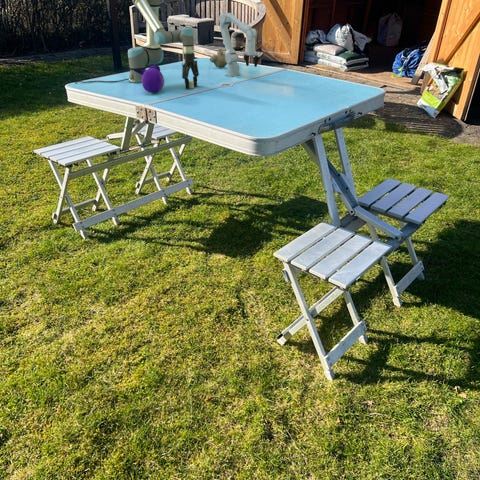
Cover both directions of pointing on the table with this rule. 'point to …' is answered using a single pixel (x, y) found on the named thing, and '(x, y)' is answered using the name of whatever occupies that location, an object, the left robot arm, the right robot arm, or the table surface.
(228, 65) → the right robot arm
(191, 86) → the cylinder
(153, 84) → the toy
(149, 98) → the table surface
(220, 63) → the teapot
